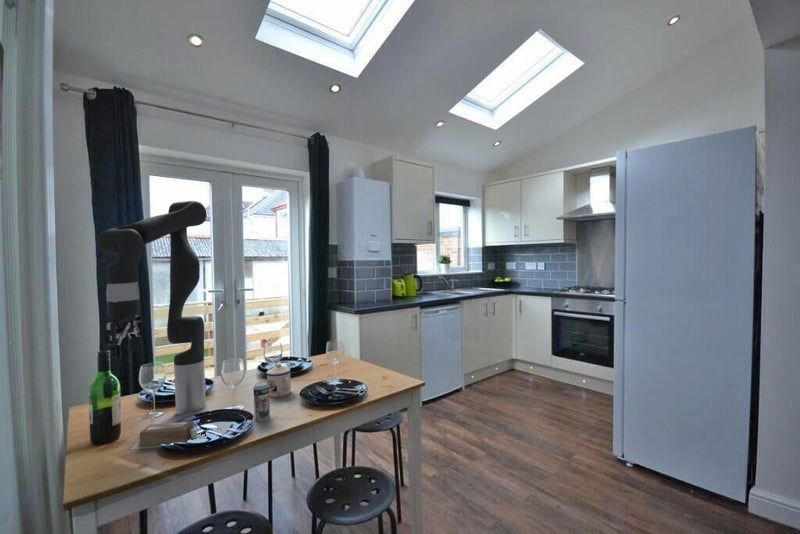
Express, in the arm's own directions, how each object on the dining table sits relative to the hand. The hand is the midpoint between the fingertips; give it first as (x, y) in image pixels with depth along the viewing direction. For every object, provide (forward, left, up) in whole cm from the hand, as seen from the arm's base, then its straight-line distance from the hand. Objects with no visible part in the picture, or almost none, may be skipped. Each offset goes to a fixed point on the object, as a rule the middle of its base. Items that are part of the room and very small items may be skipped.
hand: (126, 354), depth 104 cm
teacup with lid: (-33, +36, -26) cm, 55 cm away
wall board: (-1, +15, -26) cm, 30 cm away
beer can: (-9, +35, -26) cm, 45 cm away
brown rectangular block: (+2, +12, -25) cm, 28 cm away
